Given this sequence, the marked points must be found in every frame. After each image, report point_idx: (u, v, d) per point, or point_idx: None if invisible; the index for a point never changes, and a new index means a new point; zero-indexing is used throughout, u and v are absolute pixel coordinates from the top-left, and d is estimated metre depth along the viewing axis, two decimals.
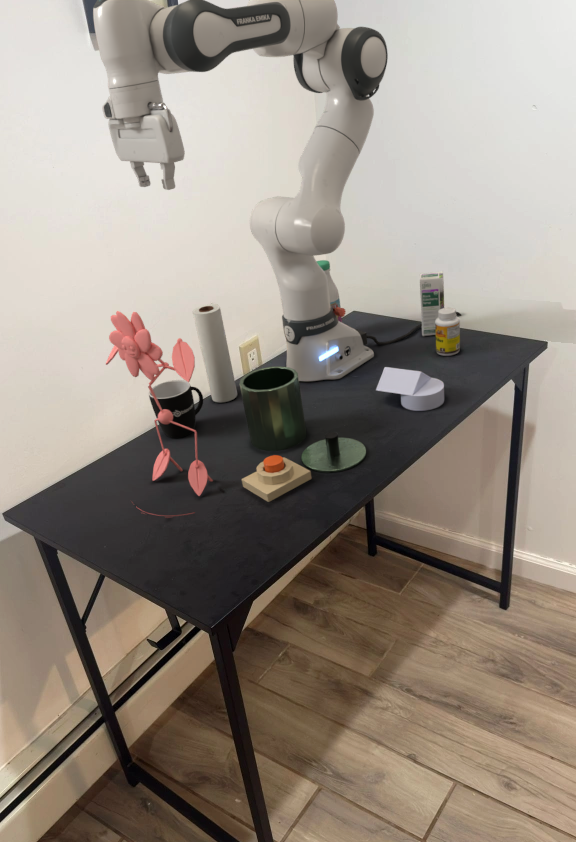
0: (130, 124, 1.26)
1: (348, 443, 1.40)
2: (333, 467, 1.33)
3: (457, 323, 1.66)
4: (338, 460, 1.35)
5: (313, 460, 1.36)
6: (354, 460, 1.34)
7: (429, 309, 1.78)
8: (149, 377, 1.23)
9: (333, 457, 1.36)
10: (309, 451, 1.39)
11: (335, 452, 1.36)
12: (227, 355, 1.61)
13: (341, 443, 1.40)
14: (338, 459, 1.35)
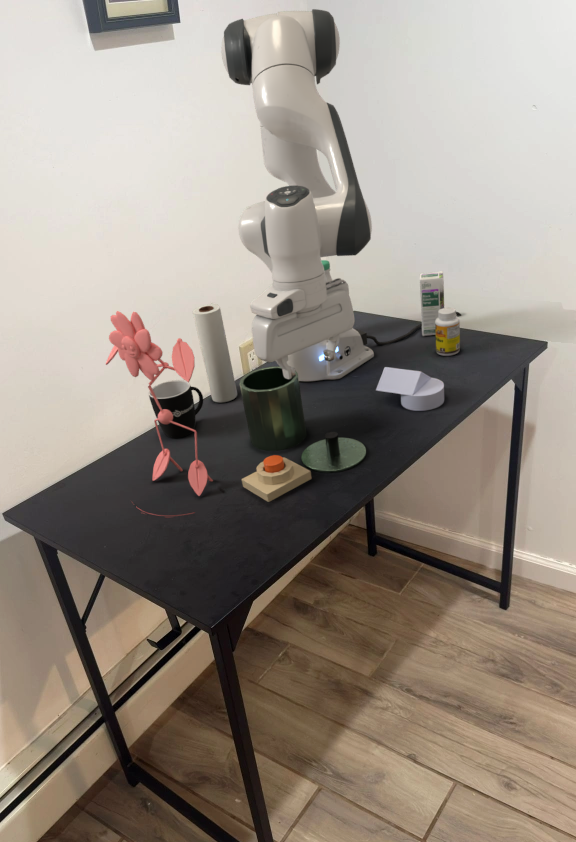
0: (318, 309, 1.22)
1: (348, 443, 1.40)
2: (333, 467, 1.33)
3: (457, 323, 1.66)
4: (338, 460, 1.35)
5: (313, 460, 1.36)
6: (354, 460, 1.34)
7: (429, 309, 1.78)
8: (149, 377, 1.23)
9: (333, 457, 1.36)
10: (309, 451, 1.39)
11: (335, 452, 1.36)
12: (227, 355, 1.61)
13: (341, 443, 1.40)
14: (338, 459, 1.35)
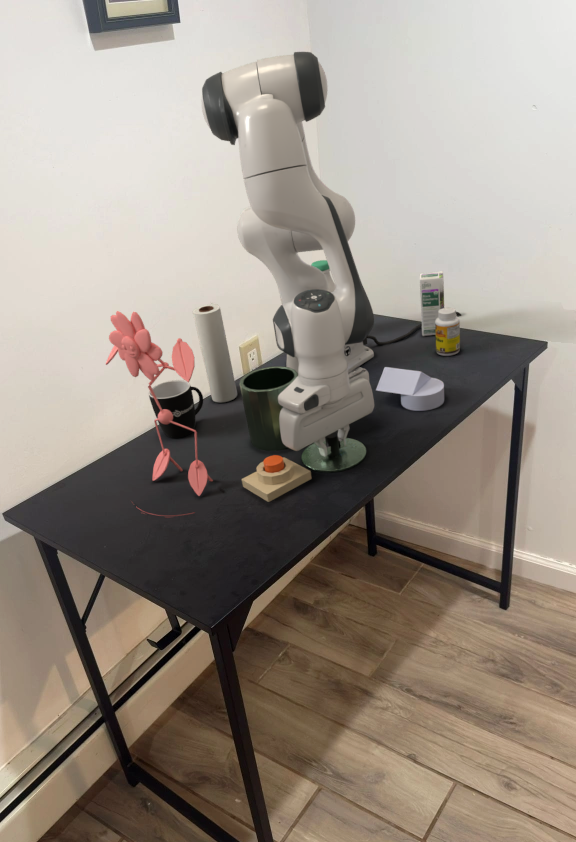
0: (341, 399, 1.29)
1: (348, 443, 1.40)
2: (333, 467, 1.33)
3: (457, 323, 1.66)
4: (338, 460, 1.35)
5: (313, 460, 1.36)
6: (354, 460, 1.34)
7: (429, 309, 1.78)
8: (149, 377, 1.23)
9: (333, 457, 1.36)
10: (309, 451, 1.39)
11: (335, 452, 1.36)
12: (227, 355, 1.61)
13: None
14: (338, 459, 1.35)
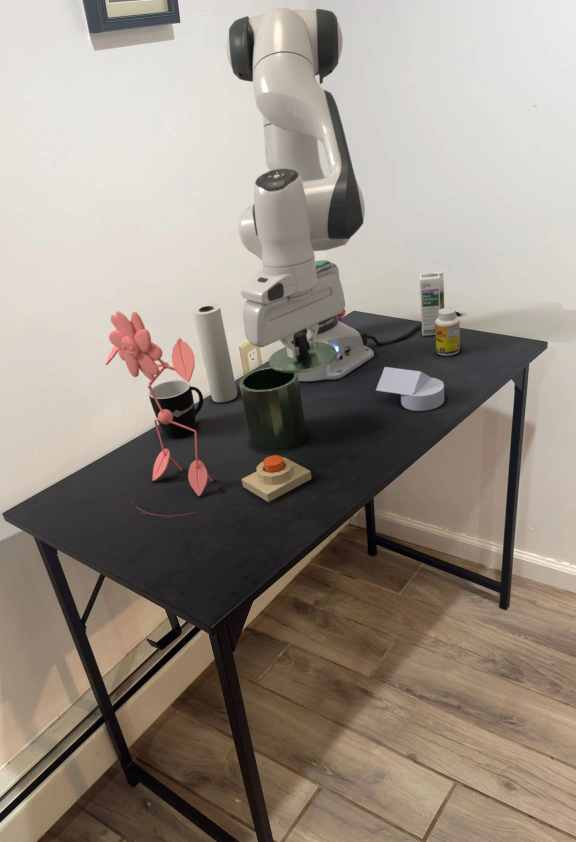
0: (308, 293, 1.22)
1: (318, 346, 1.32)
2: (301, 367, 1.26)
3: (457, 323, 1.66)
4: (307, 361, 1.28)
5: (281, 362, 1.29)
6: (324, 360, 1.27)
7: (429, 309, 1.78)
8: (149, 377, 1.23)
9: (302, 359, 1.29)
10: (277, 355, 1.32)
11: (304, 354, 1.29)
12: (227, 355, 1.61)
13: None
14: (307, 360, 1.28)
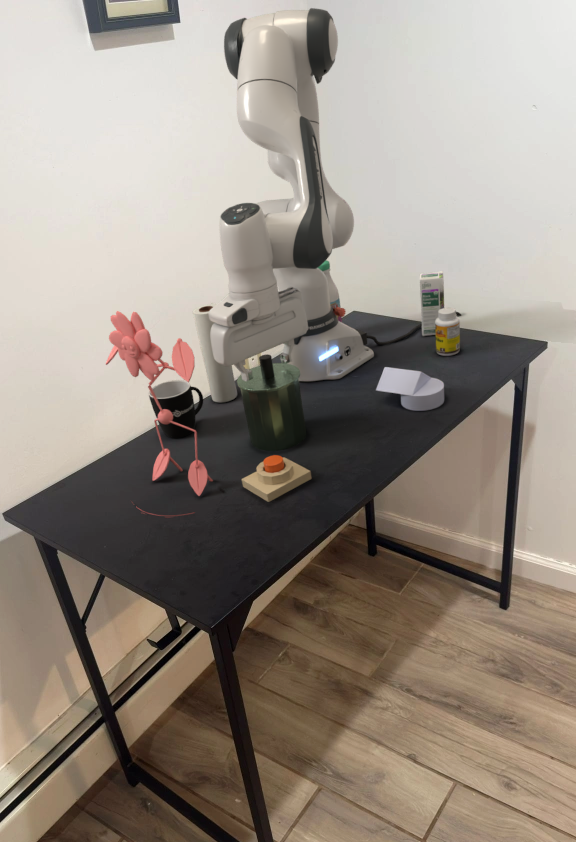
0: (272, 316, 1.32)
1: (284, 367, 1.42)
2: (266, 387, 1.35)
3: (457, 323, 1.66)
4: (272, 381, 1.37)
5: (248, 382, 1.39)
6: (287, 381, 1.36)
7: (429, 309, 1.78)
8: (149, 377, 1.23)
9: (267, 379, 1.38)
10: None
11: (269, 374, 1.38)
12: None
13: (277, 368, 1.42)
14: (272, 380, 1.38)
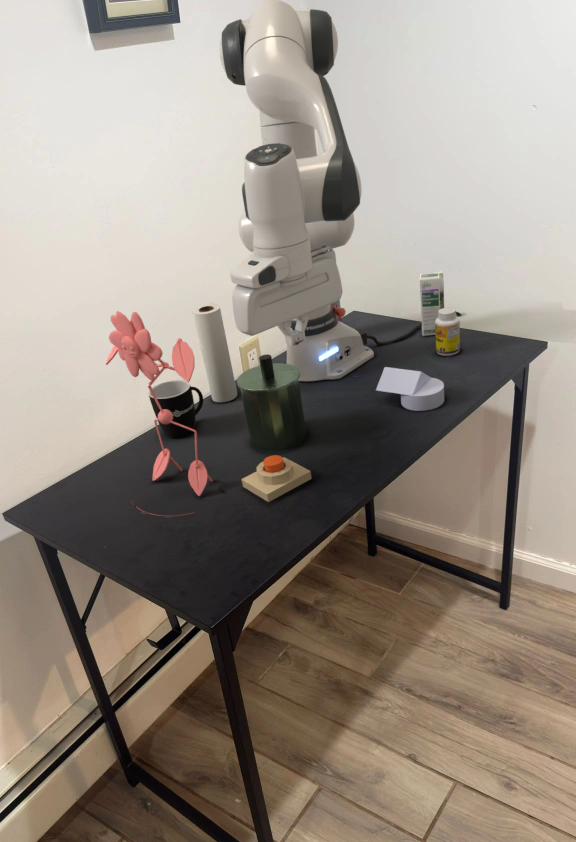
0: (303, 277, 1.14)
1: (284, 367, 1.42)
2: (266, 387, 1.35)
3: (457, 323, 1.66)
4: (272, 381, 1.37)
5: (248, 382, 1.39)
6: (287, 381, 1.36)
7: (429, 309, 1.78)
8: (149, 377, 1.23)
9: (267, 379, 1.38)
10: (245, 375, 1.42)
11: (269, 374, 1.38)
12: (227, 355, 1.61)
13: (277, 368, 1.42)
14: (272, 380, 1.38)
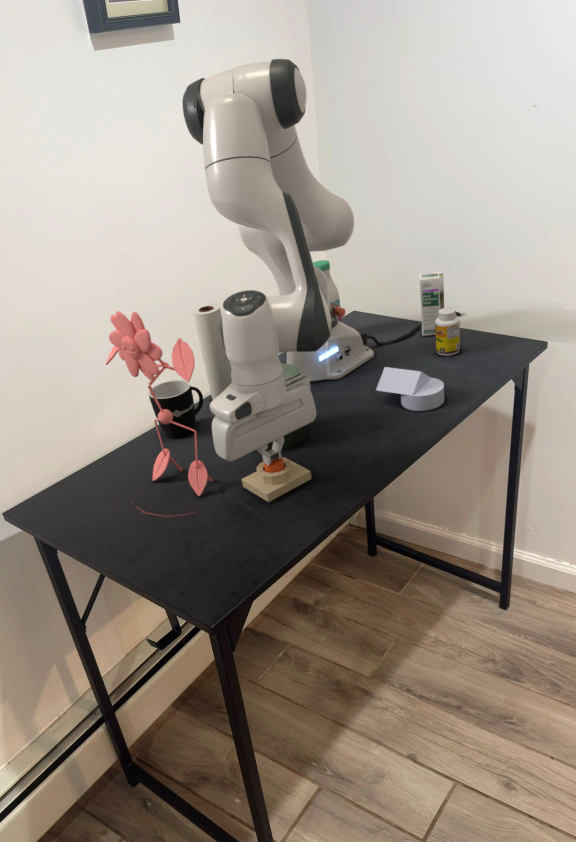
0: (278, 407, 1.22)
1: (284, 367, 1.42)
2: None
3: (457, 323, 1.66)
4: None
5: None
6: None
7: (429, 309, 1.78)
8: (149, 377, 1.23)
9: None
10: None
11: None
12: None
13: None
14: None
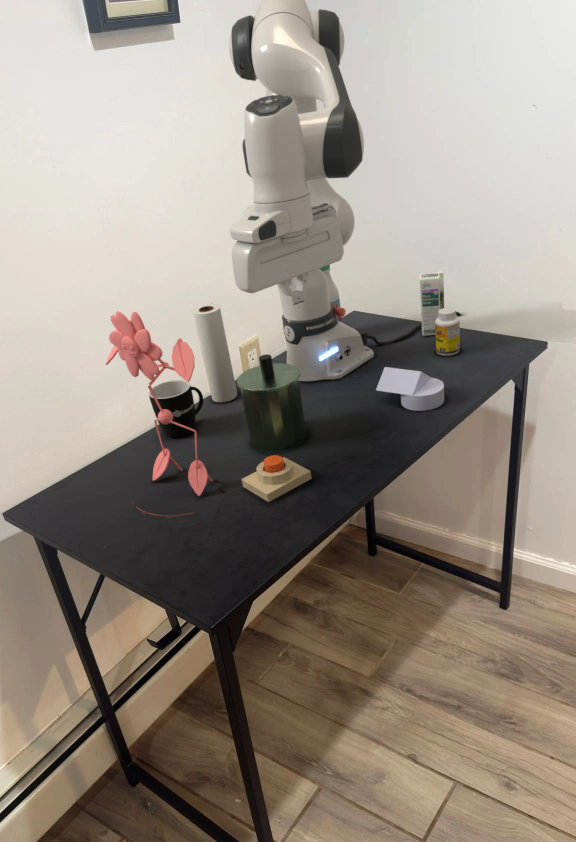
0: (304, 234, 1.12)
1: (284, 367, 1.42)
2: (266, 387, 1.35)
3: (457, 323, 1.66)
4: (272, 381, 1.37)
5: (248, 382, 1.39)
6: (287, 381, 1.36)
7: (429, 309, 1.78)
8: (149, 377, 1.23)
9: (267, 379, 1.38)
10: (245, 375, 1.42)
11: (269, 374, 1.38)
12: (227, 355, 1.61)
13: (277, 368, 1.42)
14: (272, 380, 1.38)
